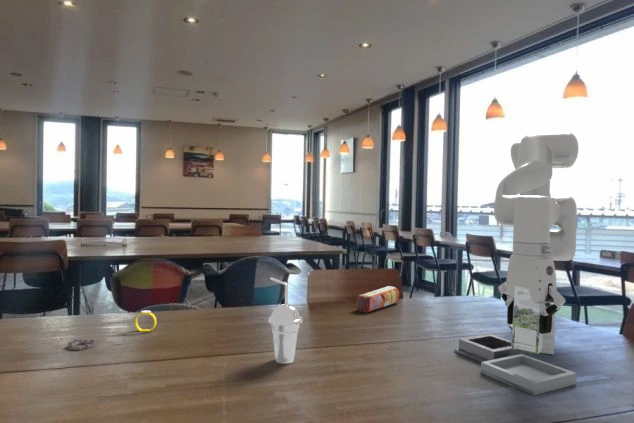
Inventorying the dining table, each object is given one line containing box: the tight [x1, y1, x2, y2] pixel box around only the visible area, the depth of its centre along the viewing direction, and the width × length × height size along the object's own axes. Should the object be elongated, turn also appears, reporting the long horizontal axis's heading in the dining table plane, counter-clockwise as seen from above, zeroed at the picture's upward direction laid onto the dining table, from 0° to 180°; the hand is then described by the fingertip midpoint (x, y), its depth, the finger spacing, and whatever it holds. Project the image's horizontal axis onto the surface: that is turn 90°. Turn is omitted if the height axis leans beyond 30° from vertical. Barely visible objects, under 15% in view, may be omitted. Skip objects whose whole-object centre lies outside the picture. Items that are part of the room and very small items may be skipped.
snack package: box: [356, 285, 400, 313], centre depth 173 cm, size 21×7×7 cm, turn 141°
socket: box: [453, 333, 527, 363], centre depth 120 cm, size 13×13×4 cm
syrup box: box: [511, 285, 543, 355], centre depth 104 cm, size 6×6×14 cm
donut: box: [67, 339, 95, 352], centre depth 121 cm, size 8×8×2 cm
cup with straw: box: [267, 276, 304, 365], centre depth 113 cm, size 8×9×20 cm
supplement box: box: [539, 313, 556, 355], centre depth 126 cm, size 7×7×13 cm
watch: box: [134, 309, 158, 333], centre depth 136 cm, size 6×3×6 cm, turn 93°
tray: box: [480, 354, 577, 397], centre depth 105 cm, size 14×14×2 cm
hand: (528, 327), depth 104 cm, fingers closed on syrup box, 7 cm apart
